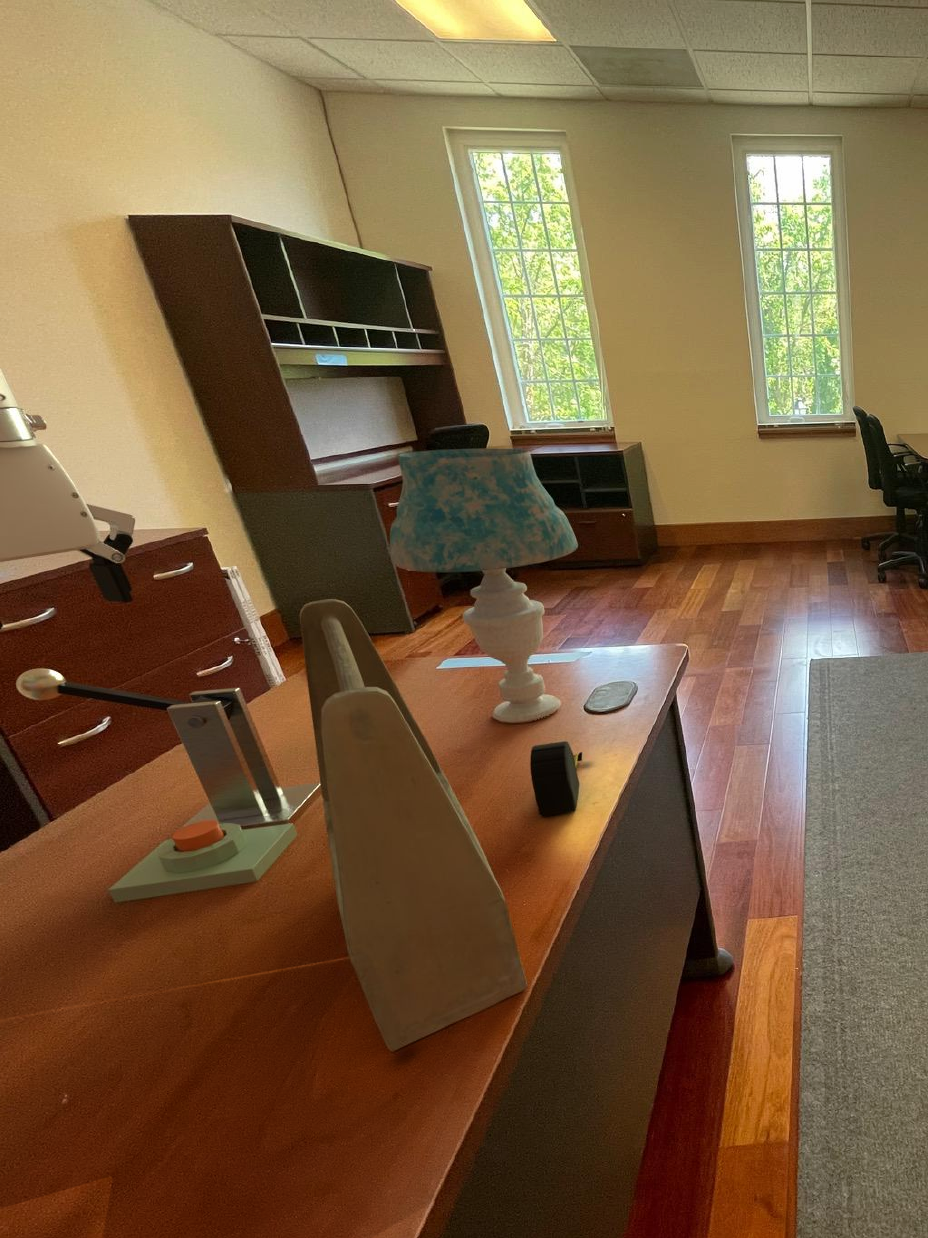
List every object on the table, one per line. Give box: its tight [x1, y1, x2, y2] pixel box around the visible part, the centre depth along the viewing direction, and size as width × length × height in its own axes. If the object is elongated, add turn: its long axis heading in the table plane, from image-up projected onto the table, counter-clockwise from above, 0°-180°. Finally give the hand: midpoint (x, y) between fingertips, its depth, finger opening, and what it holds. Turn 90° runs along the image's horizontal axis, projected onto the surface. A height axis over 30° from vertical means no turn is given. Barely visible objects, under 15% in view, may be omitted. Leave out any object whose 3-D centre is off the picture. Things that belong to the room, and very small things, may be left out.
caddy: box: [299, 598, 528, 1053], centre depth 63 cm, size 29×11×30 cm, turn 41°
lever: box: [15, 667, 232, 721], centre depth 79 cm, size 17×3×3 cm, turn 107°
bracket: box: [166, 687, 322, 830], centre depth 84 cm, size 11×9×16 cm
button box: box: [108, 823, 298, 903], centre depth 77 cm, size 12×9×4 cm
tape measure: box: [529, 740, 583, 818], centre depth 92 cm, size 15×4×8 cm, turn 21°
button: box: [171, 820, 224, 852], centre depth 76 cm, size 4×4×2 cm
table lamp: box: [389, 447, 579, 724], centre depth 108 cm, size 24×24×40 cm
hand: (58, 614), depth 71 cm, fingers open, 9 cm apart
